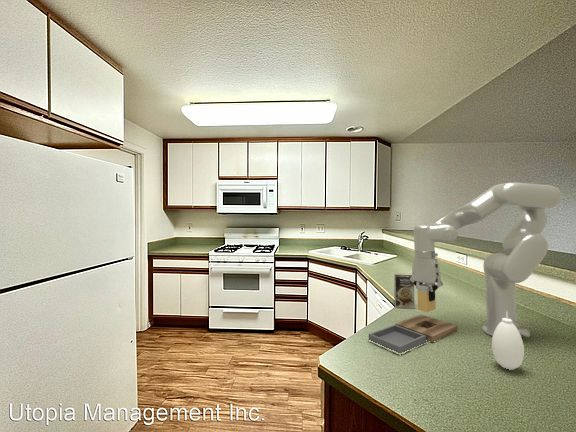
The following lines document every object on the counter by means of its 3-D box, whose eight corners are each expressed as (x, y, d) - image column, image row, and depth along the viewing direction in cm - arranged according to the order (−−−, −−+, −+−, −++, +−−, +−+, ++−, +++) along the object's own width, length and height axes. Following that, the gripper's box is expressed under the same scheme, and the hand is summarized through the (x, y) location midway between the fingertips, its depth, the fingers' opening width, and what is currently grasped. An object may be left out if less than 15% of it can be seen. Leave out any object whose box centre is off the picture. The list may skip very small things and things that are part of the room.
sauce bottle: (486, 365, 92) (485, 308, 92) (503, 360, 95) (502, 305, 95) (513, 377, 85) (512, 316, 84) (530, 372, 87) (529, 312, 87)
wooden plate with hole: (457, 331, 118) (457, 325, 118) (432, 343, 108) (432, 336, 108) (420, 319, 131) (420, 314, 131) (395, 329, 121) (395, 323, 121)
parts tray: (426, 343, 108) (425, 335, 108) (400, 356, 99) (399, 347, 99) (394, 331, 119) (394, 324, 119) (368, 341, 110) (368, 334, 110)
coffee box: (395, 308, 148) (395, 276, 147) (394, 304, 154) (393, 274, 154) (415, 309, 145) (414, 277, 145) (412, 305, 152) (412, 274, 152)
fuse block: (435, 309, 119) (434, 284, 119) (427, 312, 116) (426, 287, 116) (426, 306, 123) (425, 283, 123) (418, 309, 119) (417, 285, 119)
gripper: (450, 255, 114) (452, 302, 114) (411, 252, 128) (413, 293, 128) (439, 258, 110) (441, 306, 110) (401, 254, 124) (403, 296, 124)
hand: (426, 298), depth 119 cm, fingers closed on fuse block, 4 cm apart
